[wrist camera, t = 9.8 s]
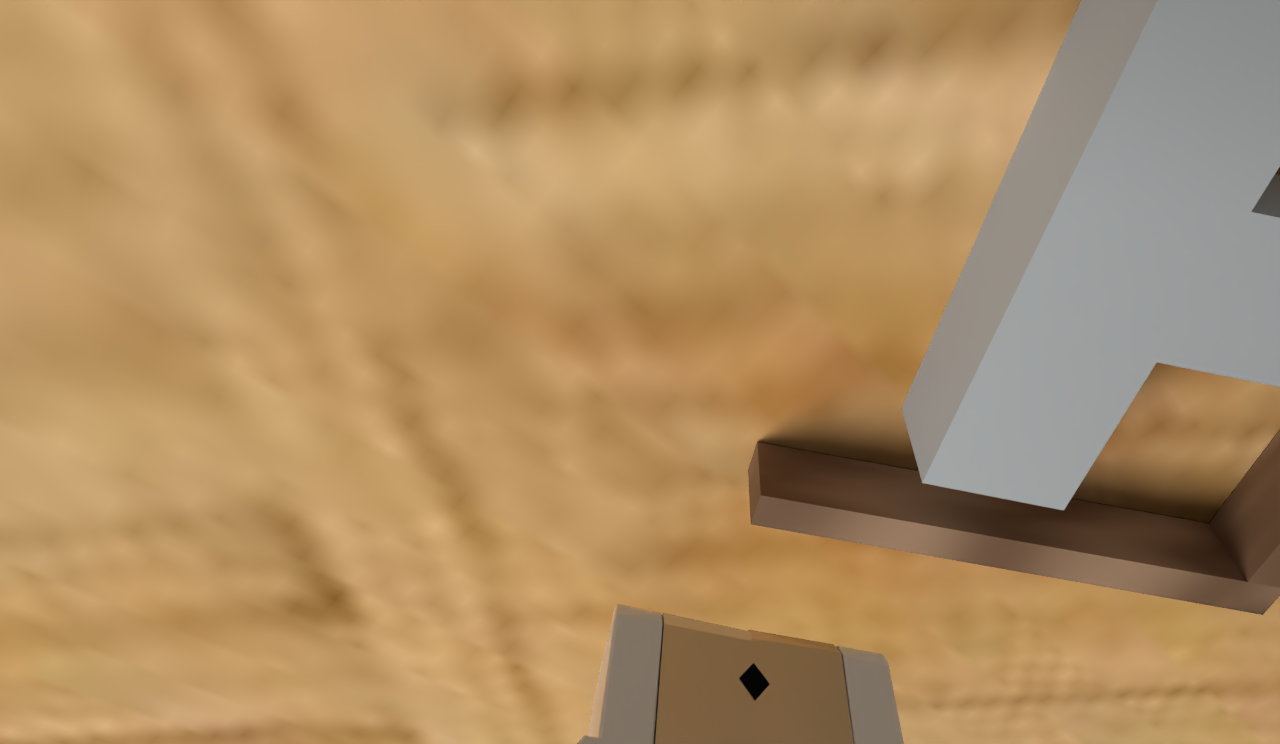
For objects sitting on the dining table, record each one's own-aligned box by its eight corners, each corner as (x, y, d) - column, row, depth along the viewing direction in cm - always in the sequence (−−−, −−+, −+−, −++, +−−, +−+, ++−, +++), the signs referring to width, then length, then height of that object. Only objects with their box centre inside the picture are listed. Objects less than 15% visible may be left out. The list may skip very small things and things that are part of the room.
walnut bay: (1781, -145, 17) (1924, -135, 15) (1223, 555, 29) (1262, 614, 27) (1001, -315, 17) (1042, -328, 15) (748, 469, 28) (750, 524, 26)
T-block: (1609, 2, 19) (1766, 41, 16) (1246, 475, 27) (1307, 558, 24) (1125, -103, 19) (1197, -81, 16) (901, 407, 27) (922, 482, 24)
